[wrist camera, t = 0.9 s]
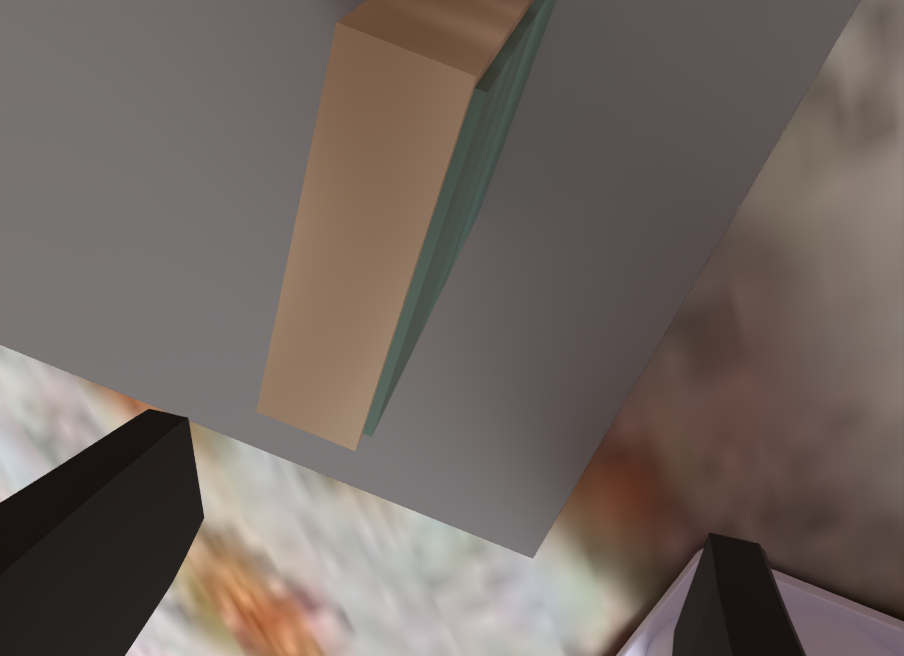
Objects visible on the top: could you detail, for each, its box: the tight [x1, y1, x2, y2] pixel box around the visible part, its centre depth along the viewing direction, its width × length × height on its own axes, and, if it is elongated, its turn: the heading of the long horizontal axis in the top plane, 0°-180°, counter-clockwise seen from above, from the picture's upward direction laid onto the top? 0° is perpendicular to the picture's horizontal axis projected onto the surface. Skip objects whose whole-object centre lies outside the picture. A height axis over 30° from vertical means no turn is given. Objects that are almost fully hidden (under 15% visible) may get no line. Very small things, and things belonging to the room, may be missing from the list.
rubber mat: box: [0, 0, 860, 558], centre depth 18 cm, size 18×22×1 cm
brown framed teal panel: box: [256, 0, 556, 451], centre depth 14 cm, size 2×6×8 cm, turn 164°
